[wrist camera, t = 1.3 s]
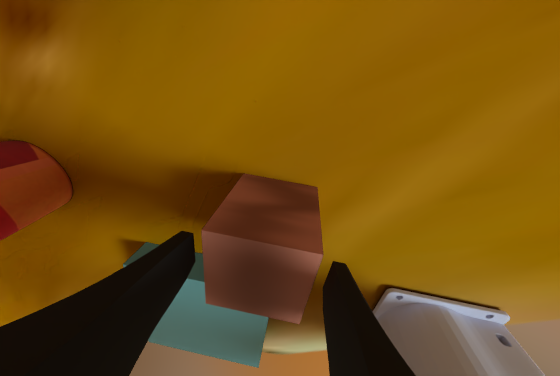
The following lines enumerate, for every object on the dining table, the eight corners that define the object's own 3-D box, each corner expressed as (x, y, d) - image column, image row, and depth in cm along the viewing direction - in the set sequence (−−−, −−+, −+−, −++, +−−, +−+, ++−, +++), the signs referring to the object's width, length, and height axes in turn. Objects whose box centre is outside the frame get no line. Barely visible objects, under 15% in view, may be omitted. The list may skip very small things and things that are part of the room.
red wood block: (317, 186, 13) (323, 255, 8) (302, 242, 15) (299, 324, 10) (244, 173, 13) (201, 230, 8) (240, 230, 16) (205, 303, 10)
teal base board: (278, 265, 18) (272, 297, 15) (264, 335, 23) (258, 367, 20) (150, 238, 18) (122, 264, 15) (166, 313, 24) (148, 341, 21)
